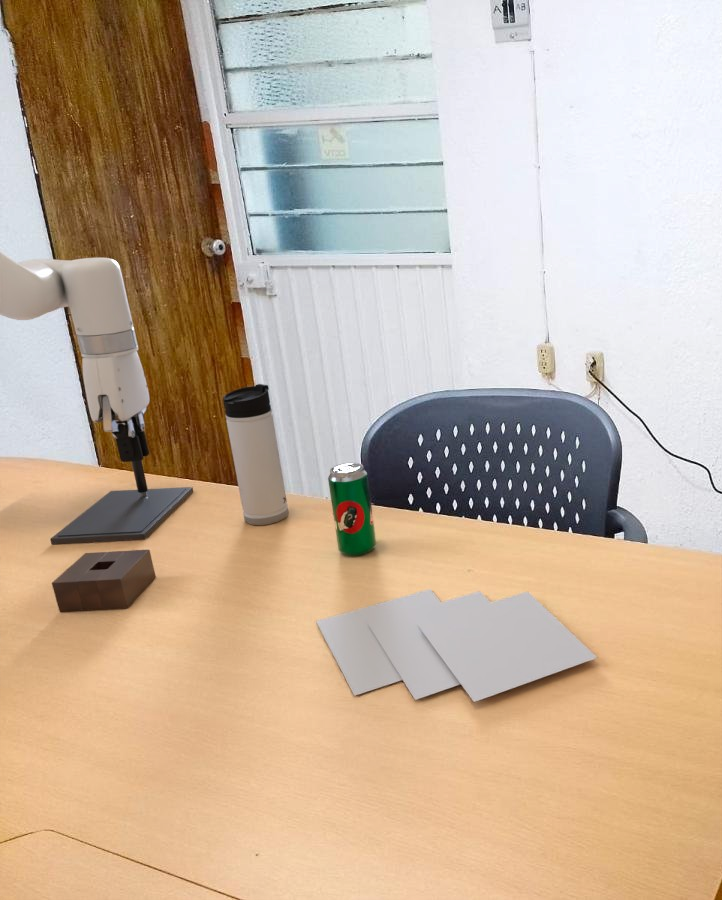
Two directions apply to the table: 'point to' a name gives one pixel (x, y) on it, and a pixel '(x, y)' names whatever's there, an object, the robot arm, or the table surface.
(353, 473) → the soda can
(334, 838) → the table surface
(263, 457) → the travel mug
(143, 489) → the stylus
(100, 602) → the holder
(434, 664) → the paper stack
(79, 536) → the tablet
